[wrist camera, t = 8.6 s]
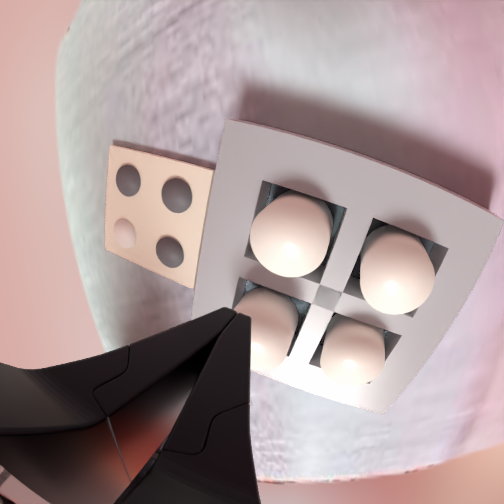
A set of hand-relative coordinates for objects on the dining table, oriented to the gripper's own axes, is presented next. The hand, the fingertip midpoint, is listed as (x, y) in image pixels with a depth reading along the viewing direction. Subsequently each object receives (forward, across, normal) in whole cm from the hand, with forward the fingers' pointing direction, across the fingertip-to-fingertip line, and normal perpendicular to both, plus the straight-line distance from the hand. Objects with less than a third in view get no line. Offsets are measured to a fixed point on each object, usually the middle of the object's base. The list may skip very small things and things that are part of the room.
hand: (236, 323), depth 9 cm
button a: (+10, -6, +6) cm, 14 cm away
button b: (+9, 0, +6) cm, 11 cm away
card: (+11, +11, +3) cm, 16 cm away
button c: (+11, -6, 0) cm, 12 cm away
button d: (+10, 0, 0) cm, 10 cm away
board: (+11, -3, +3) cm, 12 cm away
